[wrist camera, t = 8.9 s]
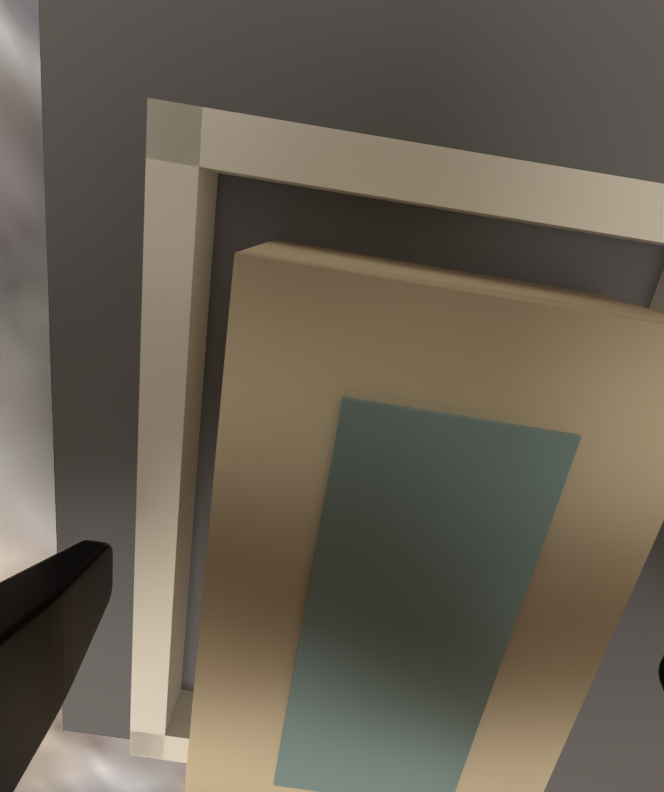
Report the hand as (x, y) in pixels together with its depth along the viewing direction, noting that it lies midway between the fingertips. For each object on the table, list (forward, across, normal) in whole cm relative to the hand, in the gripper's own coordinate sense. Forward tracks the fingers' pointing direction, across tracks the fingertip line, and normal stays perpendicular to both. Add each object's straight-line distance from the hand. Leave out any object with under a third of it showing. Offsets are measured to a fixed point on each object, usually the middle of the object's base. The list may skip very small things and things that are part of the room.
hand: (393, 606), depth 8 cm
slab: (+3, 0, 0) cm, 3 cm away
